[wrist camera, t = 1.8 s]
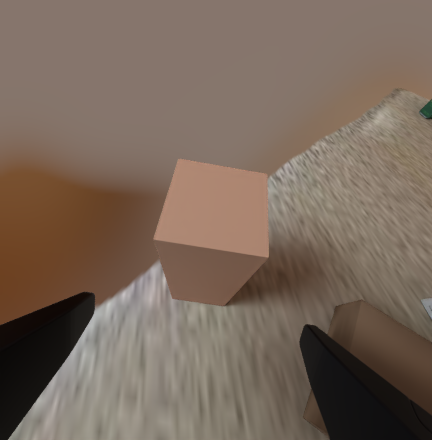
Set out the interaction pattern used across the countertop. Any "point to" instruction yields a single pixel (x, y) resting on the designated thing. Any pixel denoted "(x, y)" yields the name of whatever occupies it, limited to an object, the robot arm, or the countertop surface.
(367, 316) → the walnut block
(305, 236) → the countertop surface
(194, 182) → the column
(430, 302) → the ink box
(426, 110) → the coffee box
